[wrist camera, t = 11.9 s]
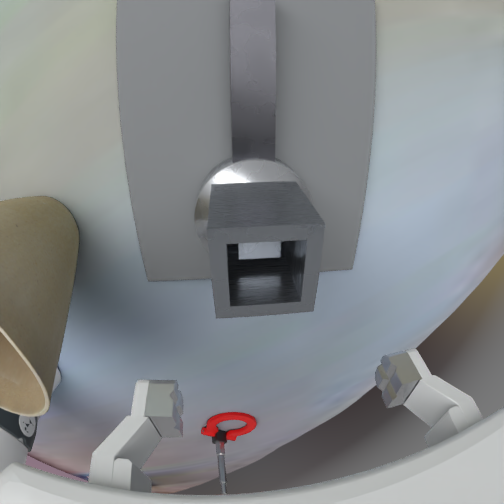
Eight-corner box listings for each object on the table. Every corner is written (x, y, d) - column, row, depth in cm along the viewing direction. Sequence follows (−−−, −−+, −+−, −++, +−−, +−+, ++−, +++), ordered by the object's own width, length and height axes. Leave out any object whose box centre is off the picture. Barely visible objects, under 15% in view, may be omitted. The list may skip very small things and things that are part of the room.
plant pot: (55, 123, 19) (-90, 194, 6) (143, 255, 27) (95, 408, 13) (-22, 209, 21) (-111, 298, 8) (53, 307, 29) (2, 419, 15)
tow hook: (222, 405, 42) (195, 427, 45) (229, 478, 31) (198, 492, 34) (265, 415, 45) (235, 436, 48) (278, 481, 34) (243, 495, 37)
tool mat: (149, 277, 28) (147, 281, 27) (119, -5, 14) (117, -7, 14) (350, 265, 29) (352, 269, 29) (371, -2, 16) (374, -4, 15)
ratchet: (301, 250, 27) (318, 289, 22) (201, 256, 26) (198, 297, 22) (310, 4, 16) (336, -18, 11) (188, 2, 15) (177, -23, 10)
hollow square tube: (216, 256, 24) (216, 318, 18) (211, 184, 21) (206, 229, 15) (291, 252, 24) (313, 311, 18) (295, 181, 21) (325, 223, 15)
